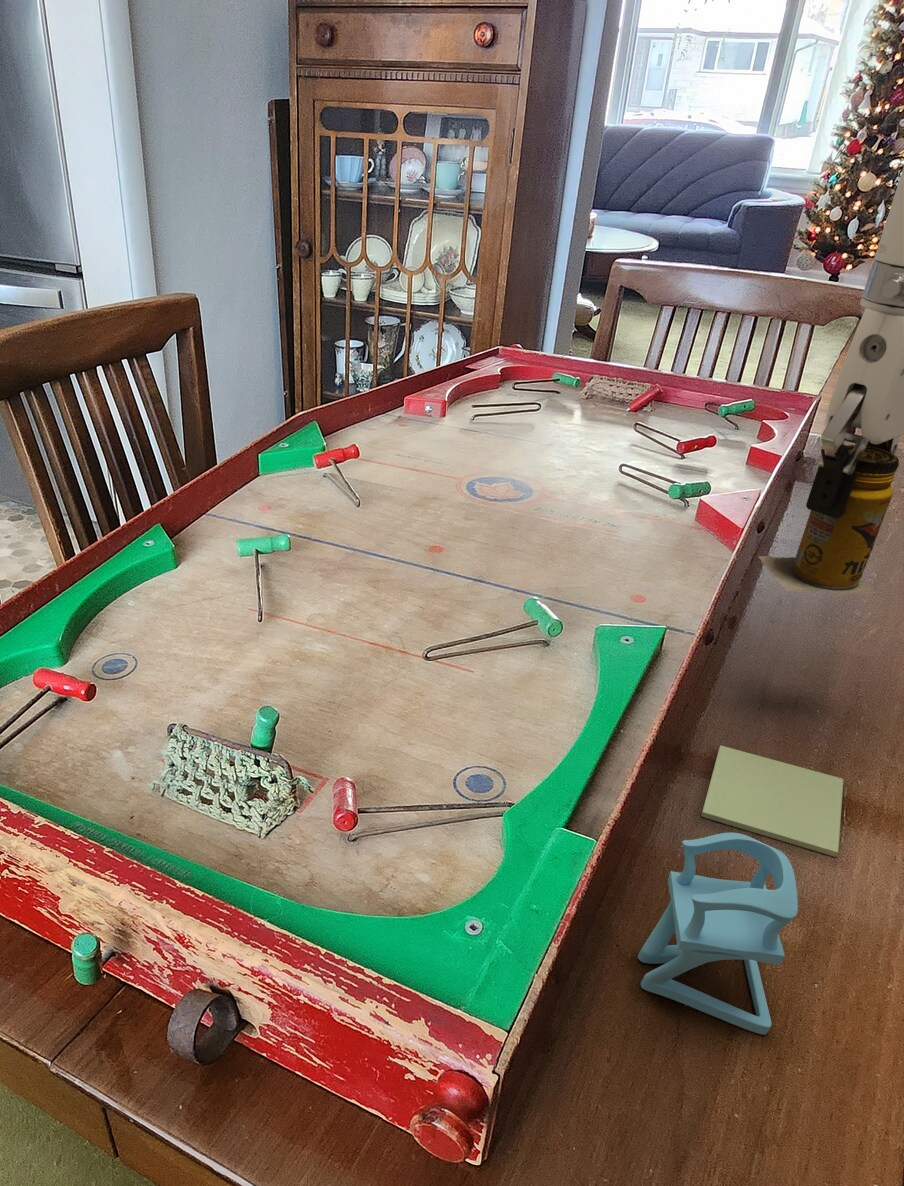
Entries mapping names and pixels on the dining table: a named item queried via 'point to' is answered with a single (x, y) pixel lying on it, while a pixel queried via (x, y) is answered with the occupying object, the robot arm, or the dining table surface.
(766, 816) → the mat
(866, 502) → the condiment
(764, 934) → the chair
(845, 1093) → the dining table surface
